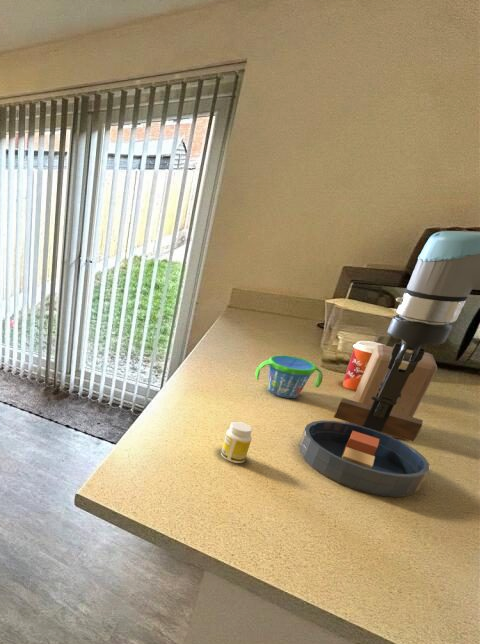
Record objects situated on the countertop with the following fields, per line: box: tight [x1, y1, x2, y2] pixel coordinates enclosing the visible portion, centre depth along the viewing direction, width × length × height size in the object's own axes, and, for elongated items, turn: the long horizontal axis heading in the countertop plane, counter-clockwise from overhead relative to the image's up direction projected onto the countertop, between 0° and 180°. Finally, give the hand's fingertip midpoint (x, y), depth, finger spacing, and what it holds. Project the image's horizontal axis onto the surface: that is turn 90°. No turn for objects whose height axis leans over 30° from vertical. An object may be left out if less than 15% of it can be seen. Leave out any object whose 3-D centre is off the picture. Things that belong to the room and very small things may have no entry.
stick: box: [333, 397, 424, 442], centre depth 81 cm, size 12×2×4 cm, turn 42°
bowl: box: [297, 419, 431, 498], centre depth 86 cm, size 20×20×6 cm
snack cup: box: [254, 354, 324, 399], centre depth 115 cm, size 16×11×10 cm
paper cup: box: [342, 340, 387, 392], centre depth 116 cm, size 8×8×14 cm
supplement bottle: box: [220, 421, 253, 464], centre depth 89 cm, size 5×5×8 cm
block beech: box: [342, 447, 375, 469], centre depth 83 cm, size 4×4×4 cm
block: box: [348, 344, 438, 439], centre depth 97 cm, size 10×10×20 cm
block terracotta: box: [343, 431, 380, 456], centre depth 88 cm, size 4×4×4 cm
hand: (372, 425), depth 81 cm, fingers closed on stick, 2 cm apart
